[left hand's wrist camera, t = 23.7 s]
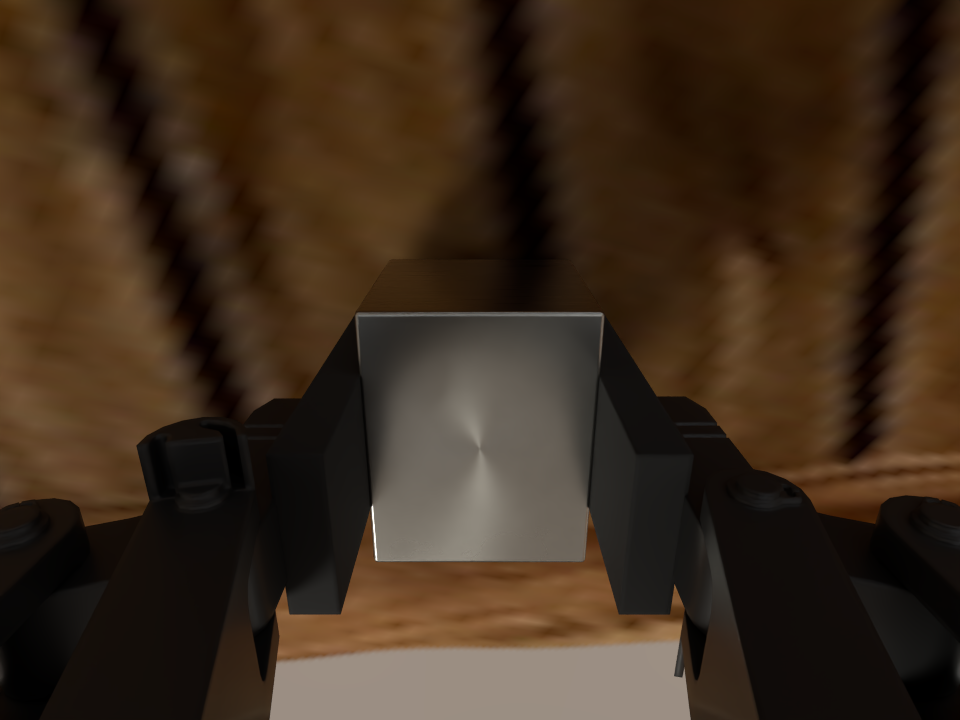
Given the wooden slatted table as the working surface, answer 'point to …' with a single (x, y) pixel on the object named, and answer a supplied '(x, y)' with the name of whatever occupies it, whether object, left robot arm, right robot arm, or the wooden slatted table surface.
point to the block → (479, 409)
